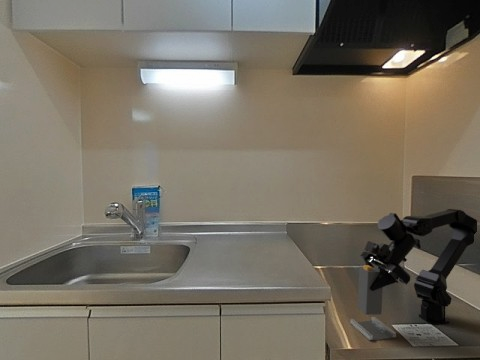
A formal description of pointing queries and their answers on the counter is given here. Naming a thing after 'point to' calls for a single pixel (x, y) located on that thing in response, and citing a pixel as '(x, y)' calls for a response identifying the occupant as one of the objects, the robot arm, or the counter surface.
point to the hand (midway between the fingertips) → (366, 286)
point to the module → (369, 291)
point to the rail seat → (373, 329)
